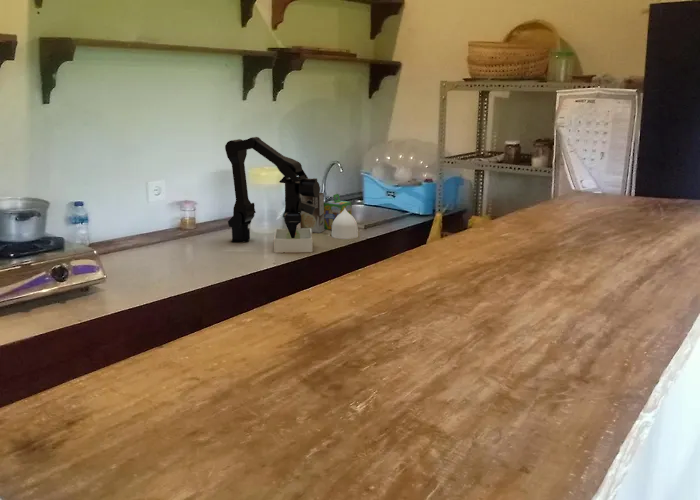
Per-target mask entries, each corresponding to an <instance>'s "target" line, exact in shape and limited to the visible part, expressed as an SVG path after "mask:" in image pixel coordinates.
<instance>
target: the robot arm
mask: <svg viewBox="0 0 700 500" xmlns="http://www.w3.org/2000/svg"><path fill="white" fill-rule="evenodd" d="M224 145H225V146H224V150H225V153H226V157H227V159H228V161H229V162H230V164H231V169H232V179H233V185H234V187H233V188H234V195H235V202H234V205H233V210H232V211H233V212H232V213H233V215H232V216H231V217H230V218H229V220H227V224H228V226H229V227H230V228H231V243H249V241H250V239H251V229H250V227H249V225H250V224H251V223H252V220H253V219H254V218H255V214H256V213H257V212H256V209H255V205H256V204H255V202H251V201H250V198H249V193H248V183H247V176H246V175H247V174H246V166H245V161H246V158H247V156H248V150H251V149H253V150H254V151H255V152H257V153H258V154H259V155H260V156H262V157H264V158H265V160H267V161H269V162H270V163H272V164H274V166H276V168H277V170H278V172H280V174H282V175H283V176H282V178H281V179H280V180H279V182H278V183H280V184H284V218H283V219H284V220H283V221H284V223H285V226H286V229H288V231H289V233H290V235H291V238H295V233H296V229H298V228H297V227H298V225H299V224H300V222H301V211H304V212H306V213H309V214H311V215H313V212H314V210H315V205H314V204H312V201H311V200H307V201H306V202H305V201H301V197H300V194H301V195H302V196H310V197H318V195H319V193H321V186H320V183H319V181H318V178H315V177H314V178H309V177H308V176H307V174H306V172H305V171H304V169H303V165H302V163H301V162H299V160H296V159H293V158H291V157H288V156H285V155H283V154H282V153H280V152H279V151H278V150H276V149H275V148H273V147H271V146H270V145H269V144H267V143H266V142H265V141H264V140H262V139H261V138H260V137H259V136H253V137H252V136H251V137H250V138H248V139H240V138H239V139H232V140H229V141H227V142H226V143H225V144H224Z"/></svg>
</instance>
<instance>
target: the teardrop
mask: <svg viewBox="0 0 700 500" xmlns="http://www.w3.org/2000/svg"><path fill="white" fill-rule="evenodd" d="M358 229H359V228H358V223H357V221H356V219H355V217H354V216H353V215H352V213H351V214H349V213H348V212H347V211H346V209H345V208H344V210H343V211H342V212H341V213H340V214H339V215H338V216H337V217H336V218H335V219H334V221H333V223H332V230H331V237H332V238H333V239H340V240H350V239H351V240H352V239H356V238H358V237H359V231H358Z"/></svg>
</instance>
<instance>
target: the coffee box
mask: <svg viewBox="0 0 700 500" xmlns="http://www.w3.org/2000/svg"><path fill="white" fill-rule="evenodd" d="M300 197H301V201H305V202H306V201H307V200H311V201H312V204H314V205H315V210H314V212H313V215H311V214H309V213H306V212H304V211H301V222H300V223H299V224H300V225H299V227H300V229H311V231H312V233H317V234H319V233H320V234H321V233H322V232H323V231H325V230H326V229H324V203H325V193H324V192H320V193H319V195H318V197H310V196H302V195H301V194H300Z"/></svg>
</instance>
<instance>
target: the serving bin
mask: <svg viewBox="0 0 700 500" xmlns="http://www.w3.org/2000/svg"><path fill="white" fill-rule="evenodd" d="M296 230H297V231H298V232H299V233H300V239H286V234H287V233H288V228H275V229H274V234H273V235H274V237H273V253H276V254H277V253H283V252H285V253H313V232H312V231H311V229H301V228H296Z"/></svg>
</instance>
